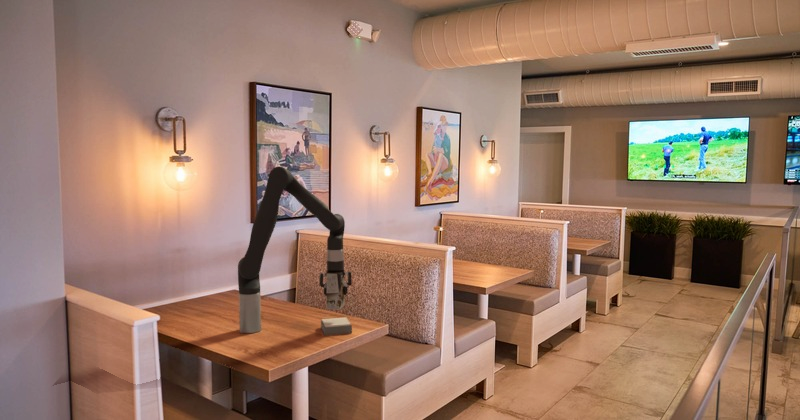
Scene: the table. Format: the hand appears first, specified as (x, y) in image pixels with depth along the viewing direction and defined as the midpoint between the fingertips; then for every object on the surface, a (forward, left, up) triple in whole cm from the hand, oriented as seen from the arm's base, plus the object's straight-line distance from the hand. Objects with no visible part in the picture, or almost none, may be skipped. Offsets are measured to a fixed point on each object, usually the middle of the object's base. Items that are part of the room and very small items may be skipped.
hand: (335, 295), depth 251 cm
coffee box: (0, 0, -6) cm, 6 cm away
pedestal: (0, 0, -16) cm, 16 cm away
